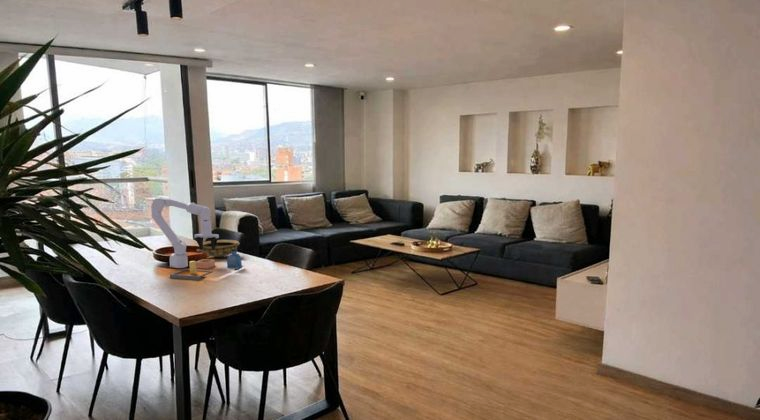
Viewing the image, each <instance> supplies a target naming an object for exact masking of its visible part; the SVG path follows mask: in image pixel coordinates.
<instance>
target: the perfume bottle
mask: <svg viewBox="0 0 760 420" xmlns="http://www.w3.org/2000/svg"><path fill="white" fill-rule="evenodd" d="M242 263H243V262H242V257H241V255H240V254H239V253H238V248H237V249H236V248H232V249H231V254H229V255H228V257H227V259H226V266H227V268H232V269H233V268H234V271H239V270H240V269H241V270H242V269H243V266H242Z"/></svg>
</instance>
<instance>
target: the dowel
mask: <svg viewBox="0 0 760 420" xmlns="http://www.w3.org/2000/svg"><path fill="white" fill-rule="evenodd" d="M196 262H197V261H196V260H190V261H188V265H189V269H190V271H189V274H190V275H196V274H197V271H196V270H197V268H196Z"/></svg>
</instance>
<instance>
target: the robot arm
mask: <svg viewBox="0 0 760 420" xmlns="http://www.w3.org/2000/svg"><path fill="white" fill-rule="evenodd" d="M150 206H151V207H150V208H151V218H152V219H153V220H154V221H153V222H155V223H156V225H157V226H158V227H159V229H160V230H161V232H162V233H163V234H164V236H165V237H166V238H167V239H168V241H169V242H170V244H171V246H172V247H173V250H174V253H172V254H171V255H170V256H169V268H175V269H186V268H187V267H189V260H188V252H187V251H186V250H187V244H186V243H185V241H183V240H181V239H180V237H178V235H177V234H176V233H175V231H174V230H173V229H172V227H171V225H169V223H168V221H166V219H165V218H164V216H163V215H162V212H163V209H164V208H168V207H175V208H179V209H183V210H185V211H186V212H187V213H190V214H193V215H196V216H199V215H200V233H196V234H194V240H195V241H196V243H197V245H198V247H199V248H198V249H200V250H203V242H204V239H209V241H211V245H212V250H215V246H216V242H217V240H219V238H220V235H219V234H217V233H212V220H211V213H212V211H211V209H210V208H209V207H208V206H205V205H203V204H201V205H199V204H197V203H195V202H194V201H193V202H189V203H185V202H183V201H179V200H175V199H171V198H168V197H162V196H157V197H156V198H155V199H154V200H153V201H152V202H151V205H150Z"/></svg>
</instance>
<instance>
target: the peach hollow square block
mask: <svg viewBox="0 0 760 420" xmlns="http://www.w3.org/2000/svg"><path fill="white" fill-rule="evenodd" d="M215 261H216V259H210V258H207V259H205V258H202V259H199V260H197V261H196V269H204V270H207V269H210V268H212V267H215V266H216V262H215Z"/></svg>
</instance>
